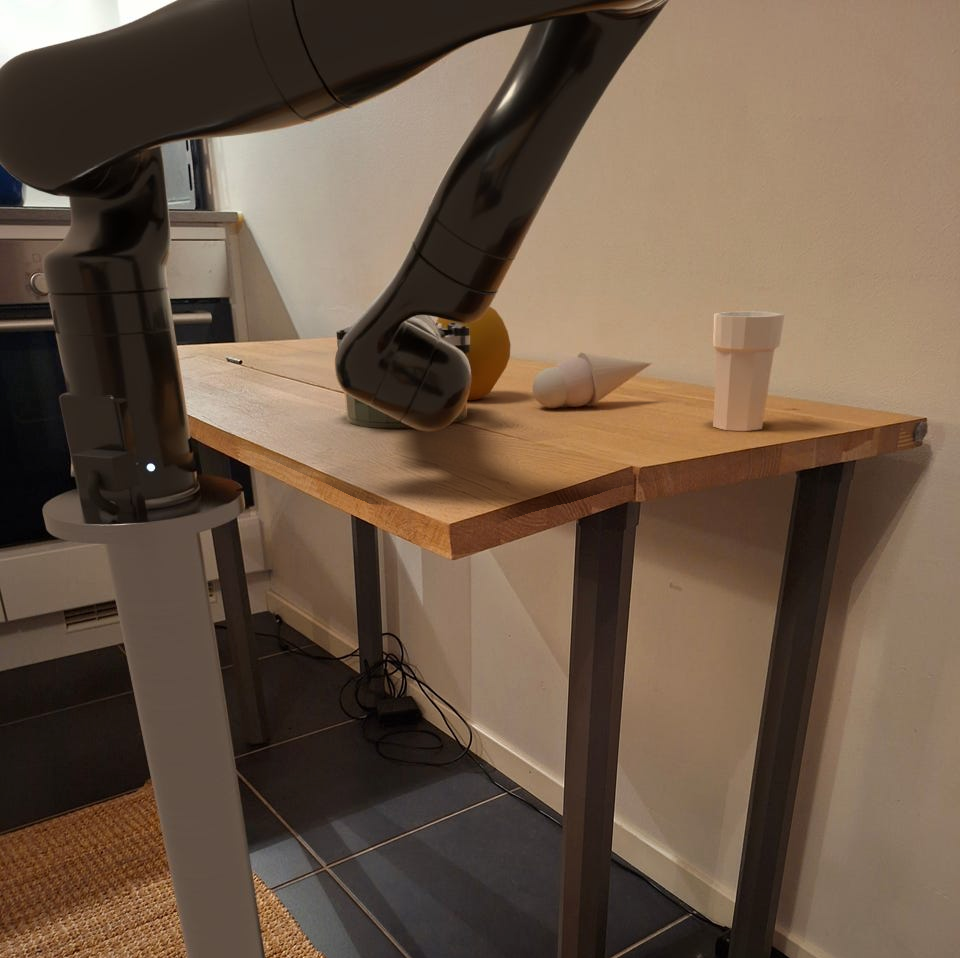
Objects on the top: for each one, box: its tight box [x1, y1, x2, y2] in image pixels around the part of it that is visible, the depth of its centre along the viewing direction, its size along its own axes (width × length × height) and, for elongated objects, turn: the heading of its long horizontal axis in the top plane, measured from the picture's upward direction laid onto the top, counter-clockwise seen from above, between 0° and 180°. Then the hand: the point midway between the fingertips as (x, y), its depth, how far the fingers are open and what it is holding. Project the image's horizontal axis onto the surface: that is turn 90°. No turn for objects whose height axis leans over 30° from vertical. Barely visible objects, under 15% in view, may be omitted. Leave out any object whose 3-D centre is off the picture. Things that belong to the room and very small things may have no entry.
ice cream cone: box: [532, 352, 653, 409], centre depth 106 cm, size 6×6×15 cm
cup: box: [712, 310, 785, 432], centre depth 92 cm, size 7×7×11 cm
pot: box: [343, 354, 468, 430], centre depth 101 cm, size 14×14×7 cm
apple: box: [435, 306, 512, 401], centre depth 111 cm, size 10×10×12 cm
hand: (403, 333), depth 101 cm, fingers closed on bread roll, 5 cm apart
